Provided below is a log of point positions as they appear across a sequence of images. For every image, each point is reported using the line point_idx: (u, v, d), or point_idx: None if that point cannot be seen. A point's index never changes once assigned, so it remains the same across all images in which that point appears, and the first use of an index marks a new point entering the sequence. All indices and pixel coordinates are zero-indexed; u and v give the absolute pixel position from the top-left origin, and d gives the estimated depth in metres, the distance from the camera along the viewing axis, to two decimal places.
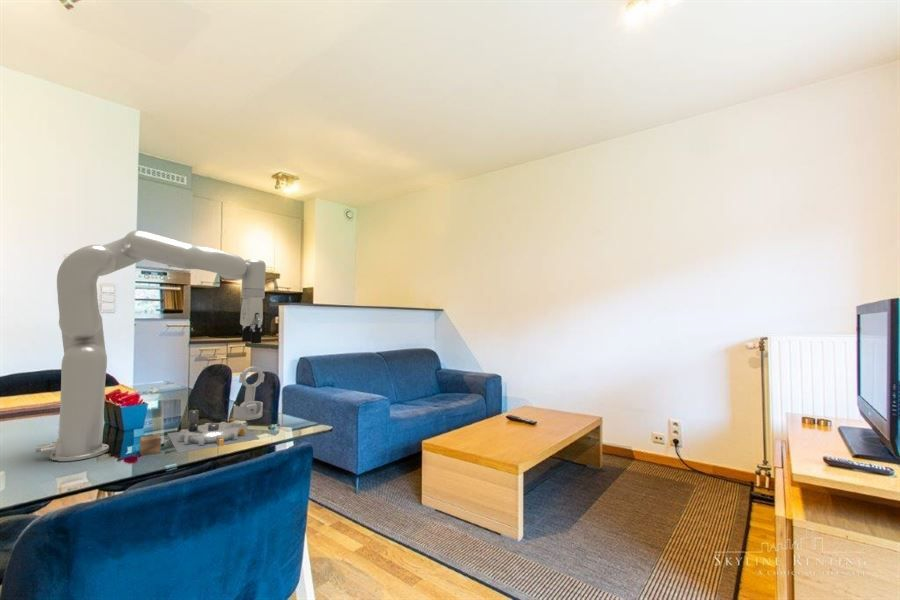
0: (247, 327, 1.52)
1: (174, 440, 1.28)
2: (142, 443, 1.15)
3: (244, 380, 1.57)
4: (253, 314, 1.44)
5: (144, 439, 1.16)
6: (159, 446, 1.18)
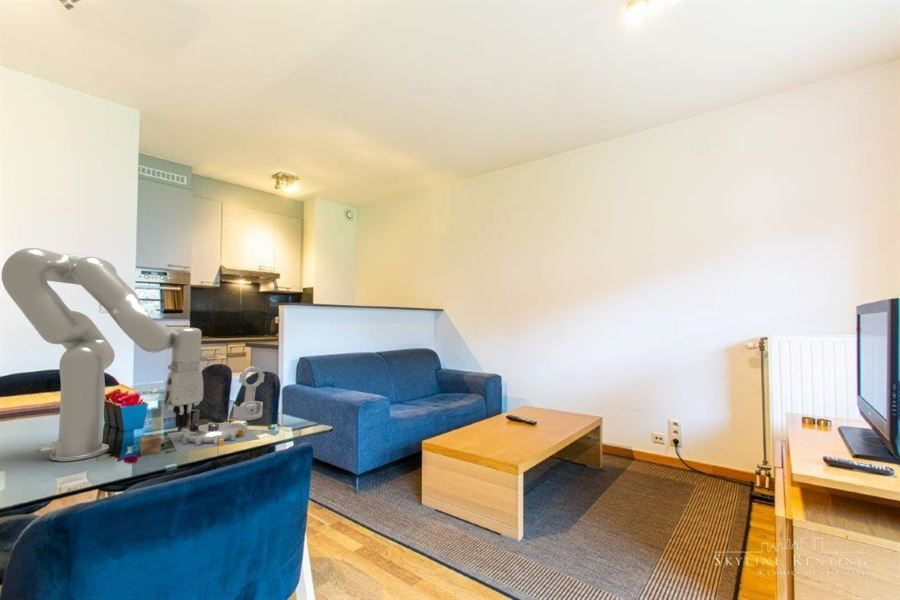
0: None
1: (174, 440, 1.28)
2: (142, 443, 1.15)
3: (244, 380, 1.57)
4: None
5: (144, 439, 1.16)
6: (159, 446, 1.18)
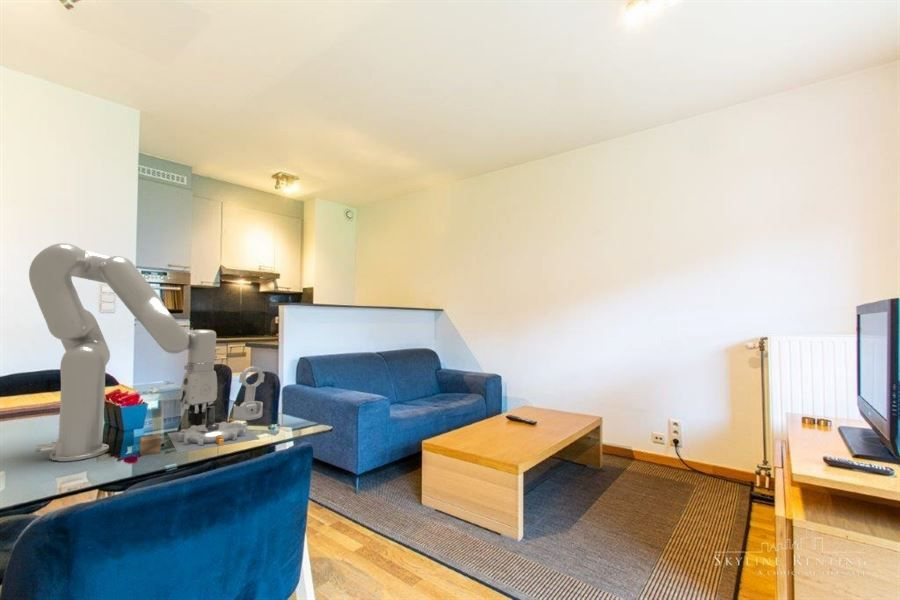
0: None
1: (174, 440, 1.28)
2: (142, 443, 1.15)
3: (244, 380, 1.57)
4: None
5: (144, 439, 1.16)
6: (159, 446, 1.18)
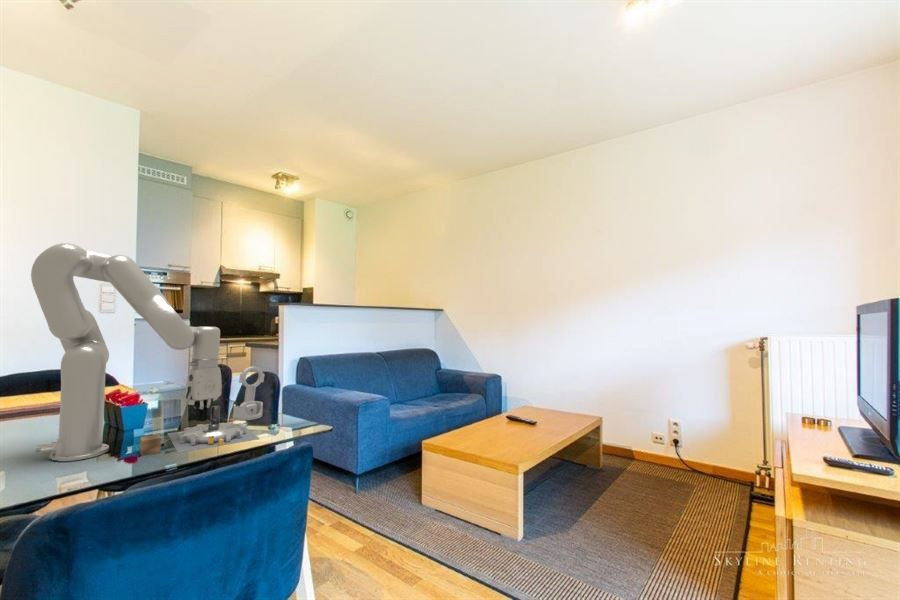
0: None
1: (174, 440, 1.28)
2: (142, 443, 1.15)
3: (244, 380, 1.57)
4: None
5: (144, 439, 1.16)
6: (159, 446, 1.18)
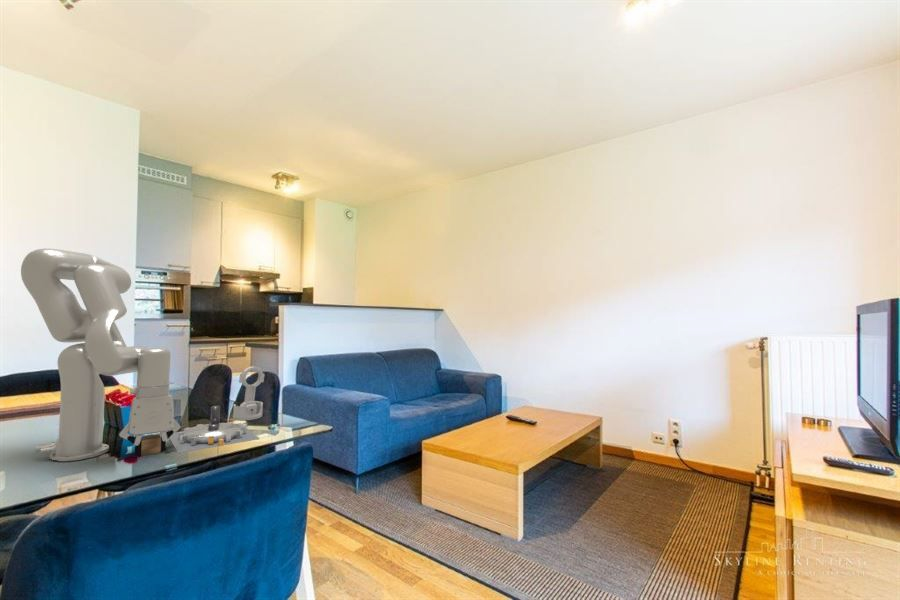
0: None
1: (174, 440, 1.28)
2: (142, 443, 1.15)
3: (244, 380, 1.57)
4: None
5: (144, 439, 1.16)
6: (159, 446, 1.18)
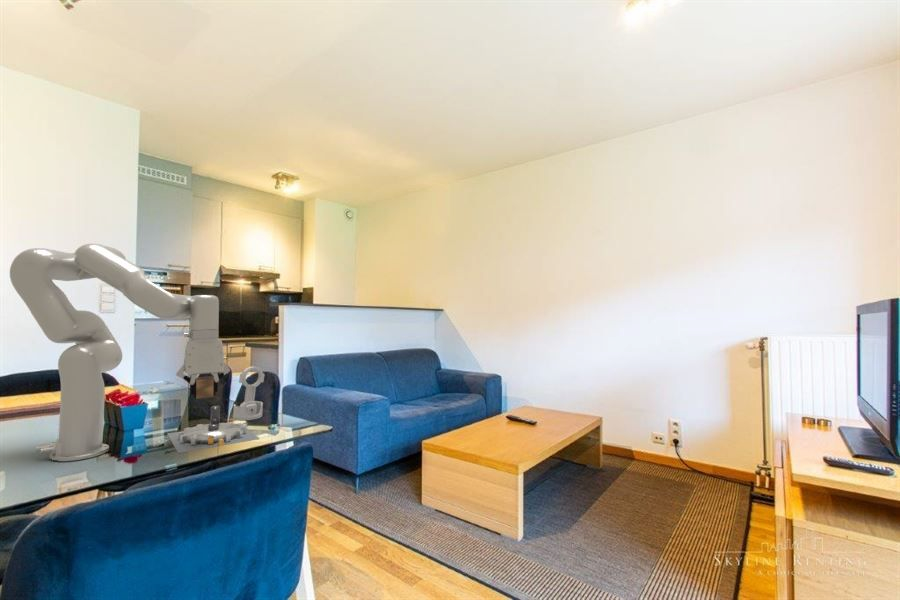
0: None
1: (174, 440, 1.28)
2: (197, 382, 1.23)
3: (244, 380, 1.57)
4: (223, 358, 1.28)
5: (198, 379, 1.24)
6: (212, 386, 1.25)
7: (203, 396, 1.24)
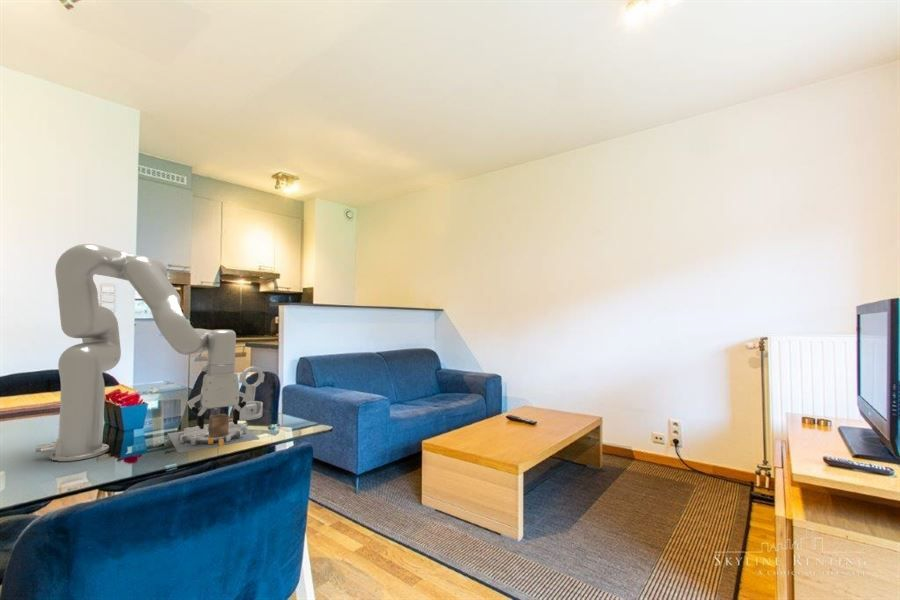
0: None
1: (174, 440, 1.28)
2: (213, 421, 1.26)
3: (244, 380, 1.57)
4: (238, 391, 1.31)
5: (214, 417, 1.27)
6: (227, 424, 1.28)
7: (218, 434, 1.27)
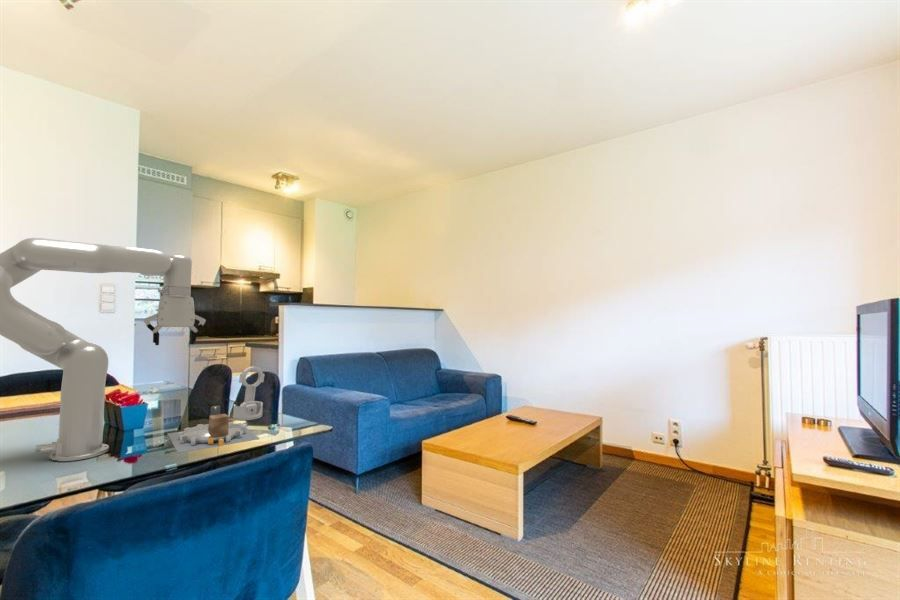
0: None
1: (174, 440, 1.28)
2: (213, 421, 1.26)
3: (244, 380, 1.57)
4: None
5: (214, 417, 1.27)
6: (227, 424, 1.28)
7: (218, 434, 1.27)
